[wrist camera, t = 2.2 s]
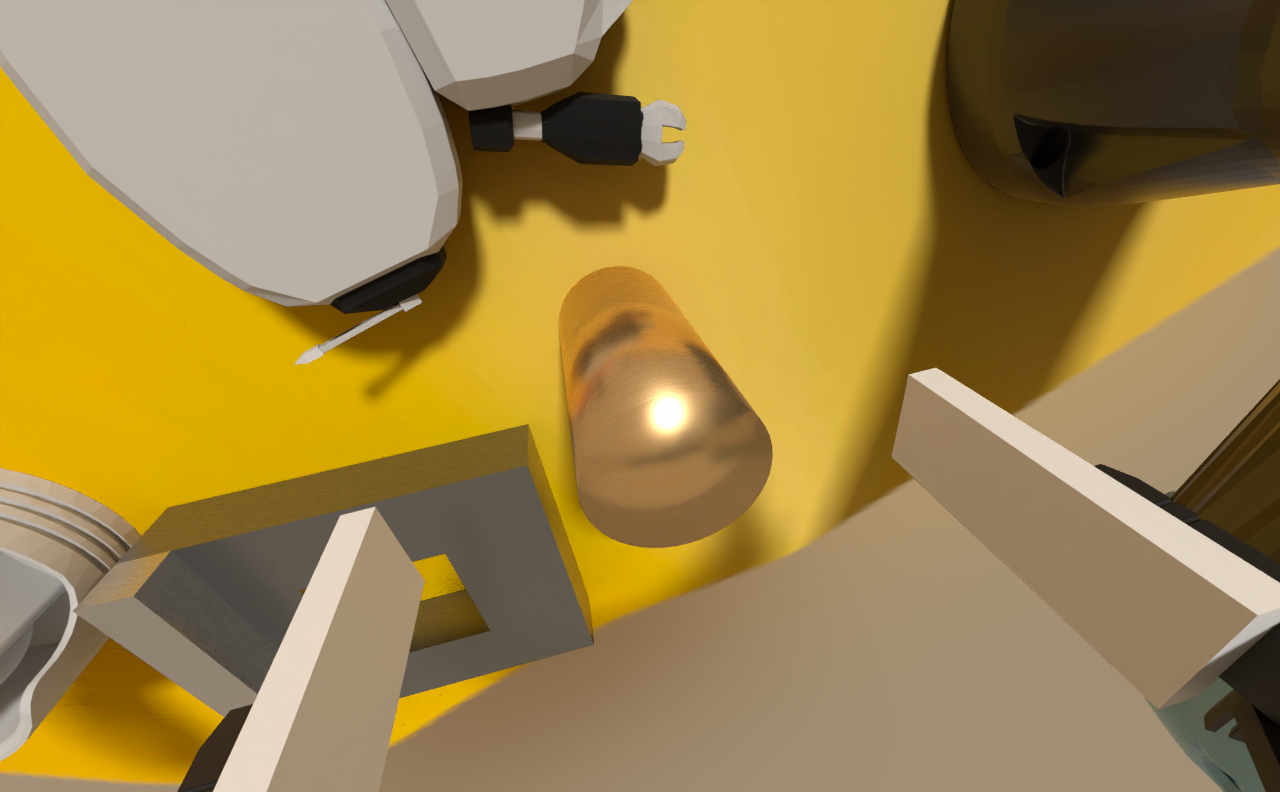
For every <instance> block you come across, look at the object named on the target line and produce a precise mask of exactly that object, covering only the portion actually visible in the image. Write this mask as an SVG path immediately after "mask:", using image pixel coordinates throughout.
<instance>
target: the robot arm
mask: <svg viewBox="0 0 1280 792" xmlns="http://www.w3.org/2000/svg"><path fill="white" fill-rule="evenodd" d="M947 72H948V93H949V102H950V108H951V114H952V119H953V123H954V127H955V130H956V133H957V136H958V139H959V142H960V144H961V146H962V149H963V151H964V153H965V155H966V156H967V158H968V160H969V162H970V163H971V164H972V166H973V167H974V169H975V170H976V171H977V172H978V173H979V174H980V176H981V177H982V178H983V179H984V180H986V181H987V182H988V183H989V184H990V185H992V186H993V187H995V188H996V189H998V190H999V191H1001V192H1003V193H1005V194H1008V195H1010V196H1013V197H1016V198H1020V199H1024V200H1030V201H1035V202H1041V203H1047V204H1052V205H1058V206H1064V207H1072V208H1104V207H1113V206H1121V205H1128V204H1136V203H1143V202H1150V201H1158V200H1165V199H1173V198H1180V197H1187V196H1195V195H1202V194H1210V193H1217V192H1224V191H1232V190H1239V189H1247V188H1254V187H1261V186H1269V185H1276V184H1280V0H955V1H954V6H953V12H952V19H951V26H950V34H949V44H948V63H947ZM891 457H892V458H893V459H894V460H895V461H896V462H897V463H899V464H900V465H901V466H902V467H903V468H904V469H905V470H906V471H907V472H908V473H909V474H910V475H911V476H912V477H913V478H914V479H915V480H916V481H918V482H919V483H920V484H921V485H922V486H923V487H924V488H925V489H926V490H927V491H928V492H929V493H930V494H931V495H932V496H933V497H934V498H935V499H936V500H938V501H939V502H940V503H941V504H942V505H943V506H944V507H945V508H946V509H947V510H948V511H949V512H950V513H951V514H952V515H953V516H954V517H955V518H957V519H958V520H959V521H960V522H961V523H962V524H963V525H964V526H965V527H966V528H967V529H968V530H969V531H970V532H972V534H973V535H974V536H976V537H977V538H978V539H979V540H980V541H981V542H982V543H983V544H984V545H985V546H986V547H987V548H988V549H989V550H990V551H991V552H992V553H993V554H995V555H996V556H997V557H998V558H999V559H1000V560H1001V561H1002V562H1003V563H1004V564H1005V565H1006V566H1007V567H1008V568H1009V569H1010V570H1011V571H1013V572H1014V573H1015V574H1016V575H1017V576H1018V577H1019V578H1020V579H1021V580H1022V581H1023V582H1024V583H1025V584H1026V585H1027V586H1028V587H1029V588H1030V589H1031V590H1033V591H1034V592H1035V593H1036V594H1037V595H1038V596H1039V597H1040V598H1041V599H1042V600H1043V601H1044V602H1045V603H1046V604H1047V605H1048V606H1049V607H1050V608H1052V609H1053V610H1054V611H1055V612H1056V613H1057V614H1058V615H1059V616H1060V617H1061V618H1062V619H1063V620H1064V621H1065V622H1066V623H1067V624H1068V625H1069V626H1071V627H1072V628H1073V629H1074V630H1075V631H1076V632H1077V633H1078V634H1079V635H1080V636H1081V637H1082V638H1083V639H1084V640H1085V641H1086V642H1087V643H1088V644H1090V645H1091V646H1092V647H1093V648H1094V649H1095V650H1096V651H1097V652H1098V653H1099V654H1100V655H1101V656H1102V657H1103V658H1104V659H1105V660H1106V661H1107V662H1109V663H1110V664H1111V665H1112V666H1113V667H1114V668H1115V669H1116V670H1117V671H1118V672H1119V673H1120V674H1121V675H1122V676H1123V677H1124V678H1125V679H1126V680H1127V681H1129V682H1130V683H1131V684H1132V685H1133V686H1134V687H1135V688H1136V689H1137V690H1138V691H1139V692H1140V693H1141V694H1142V695H1143V696H1144V697H1145V699H1146V700H1147V702H1148V703H1149V705H1150V706H1151V708H1152V709H1153V711H1154V712H1155V714H1156V715H1157V717H1158V718H1159V719H1160V721H1161V722H1162V723H1163V725H1164V726H1165V727H1166V729H1167V730H1168V732H1169V733H1170V734H1171V736H1172V737H1173V738H1174V739H1175V741H1176V742H1177V743H1178V744H1179V746H1180V747H1181V748H1182V750H1183V751H1184V752H1185V754H1186V755H1187V756H1188V757H1189V758H1190V759H1191V760H1192V761H1193V762H1194V763H1195V764H1196V765H1198V766H1199V767H1200V768H1201V769H1202V770H1203V771H1204V772H1205V773H1206V774H1207V775H1208V776H1209V777H1210V778H1211V779H1212V780H1213V781H1214V782H1215V783H1216V784H1217V785H1218V786H1219V787H1220V788H1221V789H1222V791H1223V792H1280V380H1278V382H1277V383H1276V384H1275V385H1274V386H1273V387H1272V388H1271V389H1270V390H1269V391H1268V393H1266V395H1265V396H1264V397H1263V398H1262V399H1261V400H1260V401H1259V402H1258V403H1257V404H1256V405H1255V407H1254V408H1253V409H1252V410H1251V411H1250V412H1249V413H1248V414H1247V415H1246V416H1245V417H1244V418H1243V420H1242V421H1241V422H1240V423H1239V424H1238V425H1237V426H1236V427H1235V428H1234V429H1233V430H1232V431H1231V433H1230V434H1229V435H1228V436H1227V437H1226V438H1225V439H1224V440H1223V441H1222V442H1221V444H1220V445H1219V446H1218V447H1217V448H1216V449H1215V450H1214V451H1213V452H1212V453H1211V455H1209V456H1208V458H1207V459H1206V460H1205V461H1204V462H1203V463H1202V464H1201V465H1200V466H1199V467H1198V468H1197V470H1196V471H1195V472H1194V473H1193V474H1192V475H1191V476H1190V477H1189V478H1188V479H1187V480H1186V481H1185V483H1184V484H1183V485H1182V486H1181V487H1180V488H1179V489H1178V490H1177V491H1176V492H1175V491H1173V492H1168V493H1167V494H1163V493H1161V492H1159V491H1158V490H1156V489H1155V488H1153V487H1151V486H1150V485H1148V484H1146V483H1145V482H1143V481H1141V480H1140V479H1138V478H1136V477H1133V476H1130V475H1128V474H1125V473H1123V472H1120V471H1117V470H1115V469H1113V468H1110V467H1107V466H1105V465H1102V464H1099V465H1096V466H1092V465H1091V464H1089V463H1088V462H1086V461H1084V460H1083V459H1081V458H1080V457H1078V456H1077V455H1075V454H1073V453H1072V452H1070V451H1069V450H1067V449H1065V448H1064V447H1062V446H1060V445H1059V444H1057V443H1056V442H1054V441H1053V440H1051V439H1049V438H1048V437H1046V436H1045V435H1043V434H1041V433H1040V432H1038V431H1036V430H1035V429H1033V428H1032V427H1030V426H1029V425H1027V424H1025V423H1024V422H1022V421H1021V420H1019V419H1017V418H1016V417H1014V416H1013V415H1011V414H1009V413H1008V412H1006V411H1005V410H1003V409H1001V408H1000V407H998V406H997V405H995V404H993V403H992V402H990V401H989V400H987V399H986V398H984V397H982V396H981V395H979V394H978V393H976V392H974V391H973V390H971V389H970V388H968V387H966V386H965V385H963V384H962V383H960V382H958V381H957V380H955V379H954V378H952V377H950V376H949V375H947V374H946V373H944V372H942V371H941V370H939V369H938V368H933V369H929V370H925V371H921V372H917V373H913V374H909V375H908V380H907V385H906V390H905V394H904V399H903V404H902V409H901V413H900V418H899V423H898V428H897V433H896V437H895V442H894V447H893V452H892V456H891ZM423 586H424V579H423V578H422V576H421V575H420V573H419V572H418V570H417V569H416V567H415V566H414V564H413V563H412V561H411V560H410V558H409V557H408V555H407V554H406V552H405V551H404V549H403V548H402V546H401V545H400V543H399V542H398V540H397V539H396V537H395V536H394V534H393V533H392V531H391V530H390V528H389V526H388V525H387V523H386V522H385V520H384V519H383V517H382V516H381V514H380V513H379V511H378V510H377V508H376V507H372V508H368V509H364V510H360V511H356V512H352V513H348V514H344V515H340V517H339V519H338V521H337V524H336V526H335V528H334V530H333V532H332V534H331V537H330V539H329V541H328V543H327V545H326V548H325V550H324V552H323V554H322V556H321V558H320V561H319V563H318V565H317V567H316V569H315V571H314V574H313V576H312V578H311V580H310V582H309V584H308V587H307V589H306V591H305V593H304V595H303V597H302V600H301V602H300V604H299V606H298V608H297V610H296V613H295V615H294V617H293V619H292V621H291V623H290V626H289V628H288V630H287V632H286V634H285V636H284V639H283V641H282V643H281V645H280V647H279V649H278V652H277V654H276V656H275V658H274V660H273V663H272V665H271V667H270V669H269V671H268V673H267V676H266V678H265V680H264V682H263V684H262V686H261V689H260V691H259V693H258V695H257V697H256V699H255V702H254V704H251V705H247V706H243V707H240V708H236V709H233V710H230V711H229V713H228V714H227V715H226V716H225V718H224V719H223V720H222V721H221V723H220V724H219V725H218V726H217V728H216V729H215V730H214V731H213V733H212V734H211V735H210V736H209V738H208V739H207V740H206V741H205V743H204V744H203V745H202V747H201V748H200V749H199V751H198V753H197V755H196V757H195V759H194V761H193V762H192V764H191V766H190V768H189V770H188V772H187V774H186V776H185V778H184V780H183V782H182V784H181V786H180V788H179V790H178V792H379V788H380V783H381V779H382V774H383V770H384V765H385V760H386V756H387V751H388V747H389V742H390V737H391V733H392V728H393V724H394V719H395V714H396V710H397V705H398V701H399V696H400V691H401V687H402V682H403V678H404V673H405V668H406V664H407V659H408V655H409V650H410V645H411V641H412V636H413V632H414V627H415V622H416V618H417V613H418V609H419V604H420V599H421V595H422V590H423Z"/></svg>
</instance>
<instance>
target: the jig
mask: <svg viewBox="0 0 1280 792" xmlns="http://www.w3.org/2000/svg"><path fill="white" fill-rule="evenodd" d="M372 507H376V508H377V510H378V511H379V513H380V514H381V516H382V517H383V519H384V520H385V522H386V523H387V525H388V526H389V528H390V530H391V531H392V533H393V534H394V536H395V537H396V539H397V540H398V542H399V543H400V545H401V546H402V548H403V549H404V551H405V552H406V554H407V555H408V557H409V558H410V560H411V561H412V562H413V561H417V560H421V559H425V558H429V557H433V556H437V555H441V554H446V555H447V557H448V559H449V561H450V562H451V564H452V566H453V567H454V569H455V571H456V572H457V574H458V576H459V578H460V579H461V581H462V583H463V584H464V586H465V588H466V590H463V591H459V592H455V593H451V594H447V595H443V596H440V597H436V598H432V599H428V600H424V601H420V604H419V609H418V613H417V618H416V622H415V627H414V632H413V636H412V641H411V645H410V650H409V655H408V659H407V664H406V668H405V673H404V678H403V682H402V687H401V691H400V696H399V698H402V697H406V696H409V695H413V694H416V693H420V692H424V691H427V690H431V689H435V688H438V687H442V686H445V685H449V684H453V683H456V682H460V681H463V680H467V679H471V678H474V677H478V676H482V675H485V674H489V673H492V672H496V671H500V670H503V669H507V668H511V667H514V666H518V665H521V664H525V663H529V662H532V661H536V660H539V659H543V658H546V657H550V656H554V655H558V654H561V653H565V652H568V651H572V650H576V649H579V648H583V647H587V646H590V645H593V644H594V640H593V631H592V622H591V613H590V604H589V598H588V595H587V592H586V589H585V586H584V583H583V580H582V578H581V575H580V572H579V569H578V566H577V563H576V560H575V558H574V555H573V552H572V549H571V546H570V543H569V540H568V537H567V535H566V532H565V529H564V526H563V523H562V520H561V517H560V514H559V512H558V509H557V506H556V503H555V500H554V497H553V494H552V491H551V489H550V486H549V483H548V480H547V477H546V474H545V471H544V468H543V466H542V463H541V460H540V457H539V454H538V451H537V448H536V445H535V443H534V440H533V437H532V434H531V431H530V428H529V425H524V426H520V427H515V428H511V429H507V430H502V431H498V432H494V433H489V434H485V435H481V436H476V437H472V438H468V439H463V440H459V441H455V442H450V443H446V444H442V445H437V446H433V447H429V448H425V449H420V450H416V451H412V452H407V453H403V454H399V455H394V456H390V457H386V458H381V459H377V460H373V461H368V462H364V463H360V464H355V465H351V466H347V467H342V468H338V469H334V470H329V471H325V472H321V473H317V474H312V475H308V476H304V477H299V478H295V479H291V480H286V481H282V482H278V483H273V484H269V485H265V486H260V487H256V488H252V489H247V490H243V491H239V492H234V493H230V494H226V495H222V496H217V497H213V498H209V499H204V500H200V501H196V502H191V503H187V504H183V505H178V506H174V507H170V508H167V509H166V510H165V511H164V512H163V514H162V515H161V516H160V517H159V518H158V519H157V520H156V521H155V522H154V523H153V524H152V525H151V527H150V528H149V529H148V530H147V531H146V532H145V533H144V534H143V535H142V536H141V537H140V538H139V540H138V541H137V542H136V543H135V544H134V545H133V546H132V547H131V548H130V549H129V550H128V551H127V552H126V554H125V555H124V556H123V557H122V558H121V559H120V560H119V561H118V562H117V563H116V564H115V565H114V567H113V568H112V569H111V570H110V571H109V572H108V573H107V574H106V575H105V576H104V577H103V578H102V580H101V581H100V582H99V583H98V584H97V585H96V586H95V587H94V588H93V589H92V590H91V591H90V593H89V594H88V595H87V596H86V597H85V598H84V599H83V600H82V601H81V602H80V603H79V604H78V606H77V607H76V608H75V609H74V610H73V612H74V613H76V614H77V615H78V616H80V617H81V618H83V619H84V620H86V621H87V622H88V623H90V624H91V625H93V626H94V627H96V628H97V629H99V630H100V631H101V632H103V633H104V634H106V635H107V636H109V637H110V638H111V639H113V640H114V641H116V642H117V643H119V644H120V645H121V646H123V647H124V648H126V649H127V650H129V651H130V652H132V653H133V654H134V655H136V656H137V657H139V658H140V659H142V660H143V661H144V662H146V663H147V664H149V665H150V666H152V667H153V668H154V669H156V670H157V671H159V672H160V673H162V674H163V675H165V676H166V677H167V678H169V679H170V680H172V681H173V682H175V683H176V684H177V685H179V686H180V687H182V688H183V689H185V690H186V691H187V692H189V693H190V694H192V695H193V696H195V697H196V698H198V699H199V700H200V701H202V702H203V703H205V704H206V705H208V706H209V707H210V708H212V709H213V710H215V711H216V712H218V713H219V714H220V715H222V716H223V717H225V716H226V715H227V714H228V713H229V711H230V710H233V709H236V708H240V707H243V706H247V705H251V704H254V702H255V699H256V697H257V695H258V693H259V691H260V689H261V686H262V684H263V682H264V680H265V678H266V676H267V673H268V671H269V669H270V667H271V665H272V663H273V660H274V658H275V656H276V654H277V652H278V649H279V647H280V645H281V643H282V641H283V639H284V636H285V634H286V632H287V630H288V628H289V626H290V623H291V621H292V619H293V617H294V615H295V613H296V610H297V608H298V606H299V604H300V602H301V600H302V597H303V595H304V593H305V591H306V589H307V587H308V584H309V582H310V580H311V578H312V576H313V574H314V571H315V569H316V567H317V565H318V563H319V561H320V558H321V556H322V554H323V552H324V550H325V548H326V545H327V543H328V541H329V539H330V537H331V534H332V532H333V530H334V528H335V526H336V524H337V521H338V519H339V517H340V515H344V514H348V513H352V512H356V511H360V510H364V509H368V508H372Z"/></svg>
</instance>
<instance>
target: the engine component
mask: <svg viewBox="0 0 1280 792" xmlns="http://www.w3.org/2000/svg"><path fill="white" fill-rule="evenodd" d="M140 537H141V536H140V534H139V533H138V532H137V531H136V530H135V528H134V527H133V526H131V525H130V524H129V523H128V522H127V521H125V520H124V519H123V518H122V517H121V516H119V515H118V514H116V513H115V512H113V511H112V510H110V509H109V508H107V507H106V506H104V505H103V504H101V503H99V502H97V501H95V500H93V499H91V498H89V497H87V496H85V495H83V494H81V493H79V492H77V491H75V490H72V489H69V488H67V487H64V486H62V485H59V484H57V483H54V482H51V481H48V480H45V479H41V478H38V477H35V476H32V475H28V474H24V473H19V472H15V471H10V470H6V469H1V468H0V761H1V760H3V759H5V758H7V757H8V756H10V755H11V754H12V753H14V752H15V751H17V750H18V749H19V748H20V747H21V746H22V745H23V744H24V743H25V742H26V741H27V739H28V738H29V737H30V736H31V735H32V733H33V732H34V731H35V730H36V728H37V727H38V726H39V725H40V723H41V722H42V721H43V720H44V718H45V717H46V716H47V715H48V713H49V712H50V711H51V710H52V709H53V707H54V706H55V705H56V704H57V702H58V701H59V700H60V699H61V697H62V696H63V695H64V694H65V692H66V691H67V690H68V689H69V687H70V686H71V685H72V684H73V682H74V681H75V680H76V679H77V678H78V676H79V675H80V674H81V673H82V671H83V670H84V669H85V668H86V666H87V665H88V664H89V663H90V661H91V660H92V659H93V658H94V656H95V655H96V654H97V653H98V651H99V650H100V649H101V648H102V647H103V645H104V644H105V643H106V642H107V640H108V639H109V638H110V637H109V636H107V635H106V634H104V633H103V632H101V631H100V630H99V629H97V628H96V627H94V626H93V625H91V624H90V623H88V622H87V621H86V620H84V619H83V618H81V617H80V616H78V615H77V614H76V613H74V612H73V610H74V609H75V608H76V607H77V606H78V604H79V603H80V602H81V601H82V600H83V599H84V598H85V597H86V596H87V595H88V594H89V593H90V591H91V590H92V589H93V588H94V587H95V586H96V585H97V584H98V583H99V582H100V581H101V580H102V578H103V577H104V576H105V575H106V574H107V573H108V572H109V571H110V570H111V569H112V568H113V567H114V565H115V564H116V563H117V562H118V561H119V560H120V559H121V558H122V557H123V556H124V555H125V554H126V552H127V551H128V550H129V549H130V548H131V547H132V546H133V545H134V544H135V543H136V542H137V541H138V540H139V538H140Z"/></svg>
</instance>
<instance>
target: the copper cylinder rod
mask: <svg viewBox="0 0 1280 792" xmlns="http://www.w3.org/2000/svg"><path fill="white" fill-rule="evenodd" d="M559 333H560V342H561V351H562V359H563V368H564V377H565V385H566V394H567V403H568V411H569V420H570V429H571V437H572V446H573V455H574V463H575V472H576V481H577V489H578V496H579V501H580V504H581V507H582V509H583V512H584V513H585V515H586V517H587V518H588V520H589V521H590V522H591V523H592V524H593V525H594V526H595V527H596V528H597V529H598V530H599V531H601V532H602V533H603V534H605V535H606V536H608V537H610V538H612V539H614V540H616V541H619V542H621V543H625V544H628V545H632V546H638V547H647V548H664V547H672V546H678V545H683V544H687V543H690V542H694V541H697V540H700V539H702V538H705V537H707V536H709V535H711V534H713V533H715V532H717V531H719V530H721V529H722V528H724V527H726V526H727V525H729V524H730V523H732V522H733V521H734V520H736V519H737V518H738V517H739V516H740V515H742V514H743V513H744V512H745V511H746V510H747V509H748V508H749V507H750V506H751V504H752V503H753V502H754V501H755V500H756V498H757V497H758V495H759V494H760V492H761V491H762V489H763V487H764V485H765V483H766V481H767V479H768V476H769V473H770V469H771V465H772V456H773V454H772V444H771V439H770V436H769V433H768V431H767V429H766V427H765V425H764V424H763V422H762V421H761V420H760V418H759V417H758V415H757V414H756V413H755V411H754V410H753V409H752V407H751V406H750V405H749V403H748V402H747V400H746V399H745V398H744V396H743V395H742V394H741V392H740V391H739V390H738V388H737V387H736V386H735V384H734V383H733V381H732V380H731V379H730V377H729V376H728V375H727V373H726V372H725V371H724V369H723V368H722V367H721V365H720V364H719V362H718V361H717V360H716V358H715V357H714V356H713V354H712V353H711V352H710V350H709V349H708V348H707V346H706V345H705V343H704V342H703V341H702V339H701V338H700V337H699V335H698V334H697V333H696V331H695V330H694V329H693V327H692V326H691V324H690V323H689V322H688V320H687V319H686V318H685V316H684V315H683V314H682V312H681V311H680V309H679V308H678V307H677V305H676V304H675V303H674V301H673V300H672V299H671V297H670V296H669V295H668V293H667V292H666V290H665V289H664V288H663V286H662V285H661V284H660V283H659V282H658V281H657V280H656V279H654V278H653V277H652V276H650V275H649V274H647V273H645V272H643V271H641V270H638V269H634V268H631V267H623V266H619V267H608V268H604V269H600V270H597V271H595V272H593V273H591V274H589V275H587V276H585V277H584V278H583V279H581V280H580V281H579V282H578V283H577V284H576V285H575V286H574V287H573V288H572V289H571V290H570V292H569V293H568V294H567V296H566V298H565V300H564V302H563V304H562V307H561V311H560V315H559Z"/></svg>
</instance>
